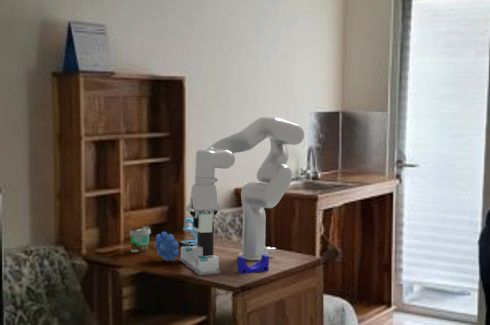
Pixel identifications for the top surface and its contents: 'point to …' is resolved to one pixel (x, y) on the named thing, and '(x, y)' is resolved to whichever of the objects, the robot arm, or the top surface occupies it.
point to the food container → (140, 240)
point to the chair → (190, 220)
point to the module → (204, 222)
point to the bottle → (206, 241)
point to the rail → (199, 260)
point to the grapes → (166, 246)
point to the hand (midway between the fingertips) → (202, 227)
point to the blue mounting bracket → (258, 267)
